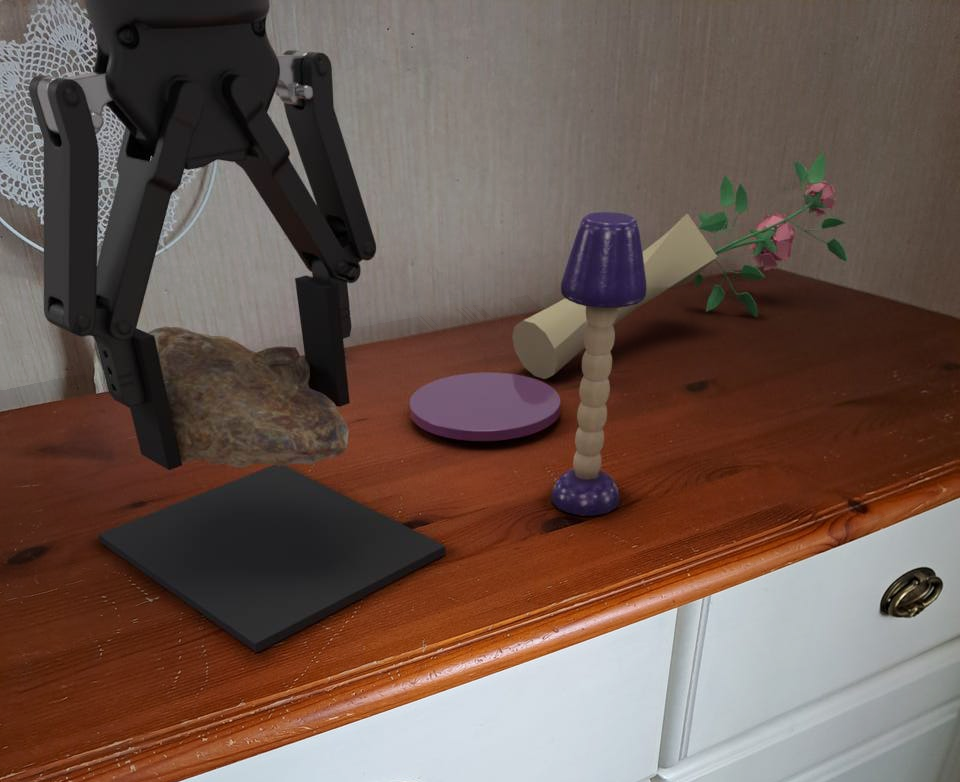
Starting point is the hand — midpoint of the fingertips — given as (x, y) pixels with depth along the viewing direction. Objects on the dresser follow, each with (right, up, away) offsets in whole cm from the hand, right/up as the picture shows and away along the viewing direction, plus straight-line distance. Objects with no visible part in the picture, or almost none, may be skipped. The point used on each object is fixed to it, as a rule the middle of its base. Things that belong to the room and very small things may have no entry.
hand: (250, 427), depth 52 cm
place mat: (0, -6, +4) cm, 8 cm away
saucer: (+13, +5, +19) cm, 24 cm away
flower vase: (+30, +16, +34) cm, 48 cm away
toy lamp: (+19, -3, +9) cm, 21 cm away
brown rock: (0, 0, +1) cm, 1 cm away
